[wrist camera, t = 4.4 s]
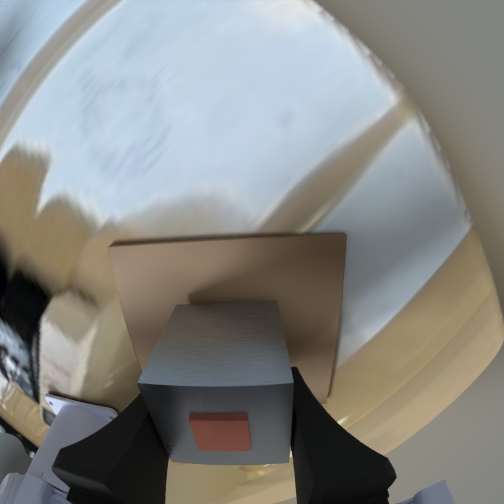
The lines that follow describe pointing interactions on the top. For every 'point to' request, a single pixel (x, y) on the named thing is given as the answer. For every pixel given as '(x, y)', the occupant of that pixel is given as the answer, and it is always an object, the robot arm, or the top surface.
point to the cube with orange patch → (222, 385)
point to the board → (239, 289)
